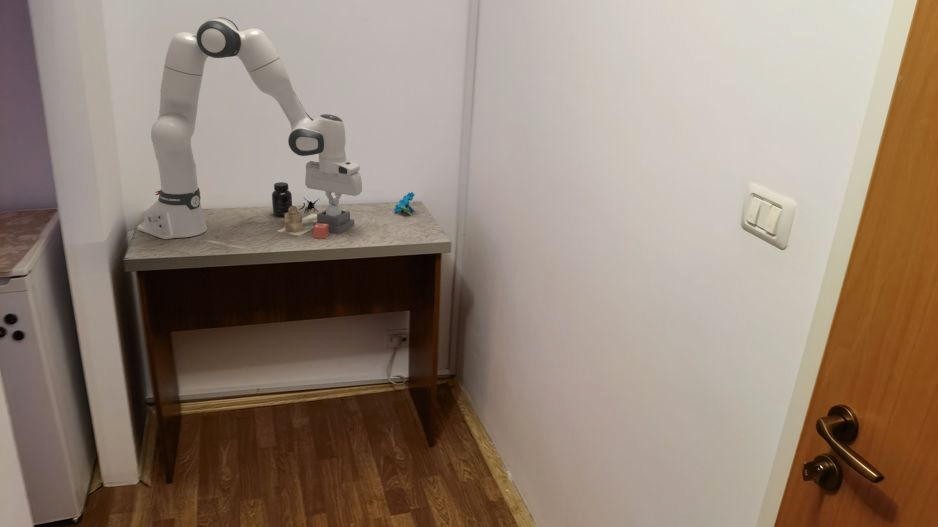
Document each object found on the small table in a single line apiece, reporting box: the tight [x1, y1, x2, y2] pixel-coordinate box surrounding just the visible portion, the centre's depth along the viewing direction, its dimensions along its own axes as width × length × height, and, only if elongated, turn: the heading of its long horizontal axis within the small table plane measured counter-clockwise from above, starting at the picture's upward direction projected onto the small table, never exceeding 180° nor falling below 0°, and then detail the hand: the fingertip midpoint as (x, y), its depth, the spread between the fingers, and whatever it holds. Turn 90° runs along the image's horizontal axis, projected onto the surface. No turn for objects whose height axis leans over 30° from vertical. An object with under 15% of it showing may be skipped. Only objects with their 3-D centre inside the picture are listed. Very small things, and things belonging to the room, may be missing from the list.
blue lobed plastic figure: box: [393, 191, 415, 217], centre depth 265 cm, size 11×6×10 cm
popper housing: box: [313, 209, 355, 235], centre depth 244 cm, size 10×10×6 cm
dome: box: [325, 204, 342, 217], centre depth 242 cm, size 5×5×5 cm
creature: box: [298, 197, 320, 214], centre depth 259 cm, size 8×5×8 cm
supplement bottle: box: [271, 181, 293, 218], centre depth 253 cm, size 7×7×12 cm
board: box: [277, 213, 317, 237], centre depth 245 cm, size 20×21×1 cm
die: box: [312, 223, 330, 240], centre depth 235 cm, size 4×4×4 cm
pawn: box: [284, 205, 303, 233], centre depth 239 cm, size 4×4×8 cm
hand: (333, 204), depth 242 cm, fingers closed
